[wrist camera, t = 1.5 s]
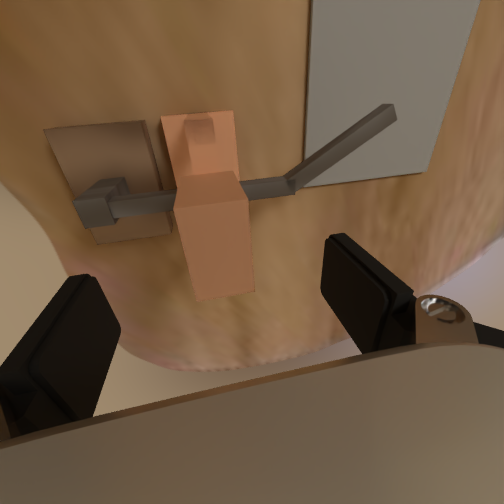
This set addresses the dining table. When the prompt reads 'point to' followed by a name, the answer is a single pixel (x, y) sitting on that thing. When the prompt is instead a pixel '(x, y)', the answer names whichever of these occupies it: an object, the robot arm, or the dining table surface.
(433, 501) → the robot arm
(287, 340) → the dining table surface
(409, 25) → the mat
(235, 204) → the orange block
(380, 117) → the stand
